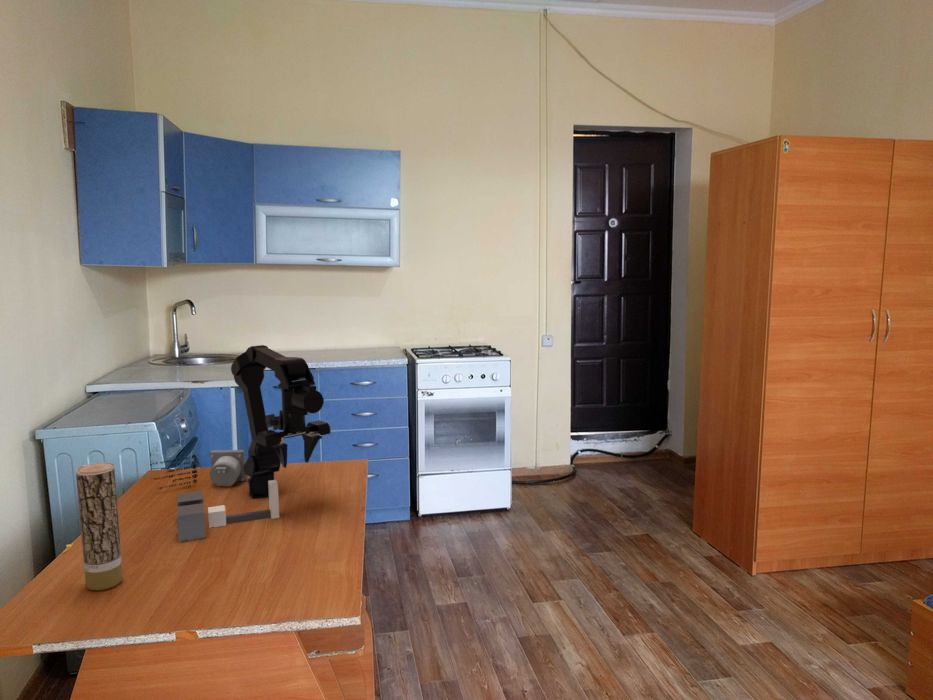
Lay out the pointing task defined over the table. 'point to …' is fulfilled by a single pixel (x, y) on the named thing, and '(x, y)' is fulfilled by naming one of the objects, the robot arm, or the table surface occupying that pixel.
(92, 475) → the wooden log
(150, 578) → the table surface
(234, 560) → the table surface
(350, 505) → the table surface
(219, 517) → the grey rod with blocks
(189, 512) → the block
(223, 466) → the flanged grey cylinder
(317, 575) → the table surface
